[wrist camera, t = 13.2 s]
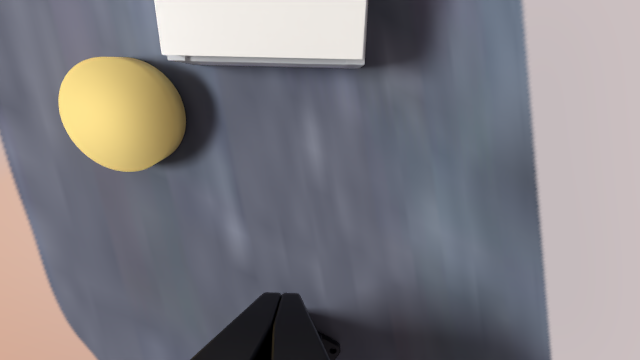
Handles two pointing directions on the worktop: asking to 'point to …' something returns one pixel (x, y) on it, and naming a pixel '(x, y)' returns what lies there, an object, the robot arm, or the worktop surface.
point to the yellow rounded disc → (122, 112)
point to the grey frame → (275, 59)
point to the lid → (262, 28)
